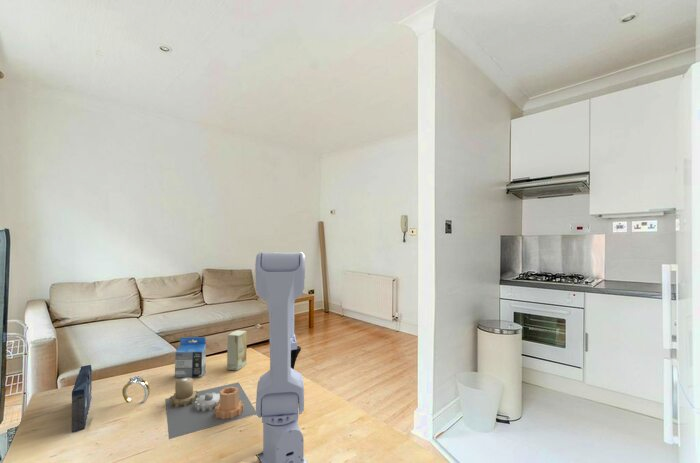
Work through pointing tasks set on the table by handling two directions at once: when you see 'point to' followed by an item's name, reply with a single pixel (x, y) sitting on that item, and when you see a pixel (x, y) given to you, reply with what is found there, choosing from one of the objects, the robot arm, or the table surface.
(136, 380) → the ring
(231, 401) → the planet gear
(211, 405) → the carrier board
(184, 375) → the label tape box
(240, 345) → the skincare box
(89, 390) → the vhs cassette tape
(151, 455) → the table surface
